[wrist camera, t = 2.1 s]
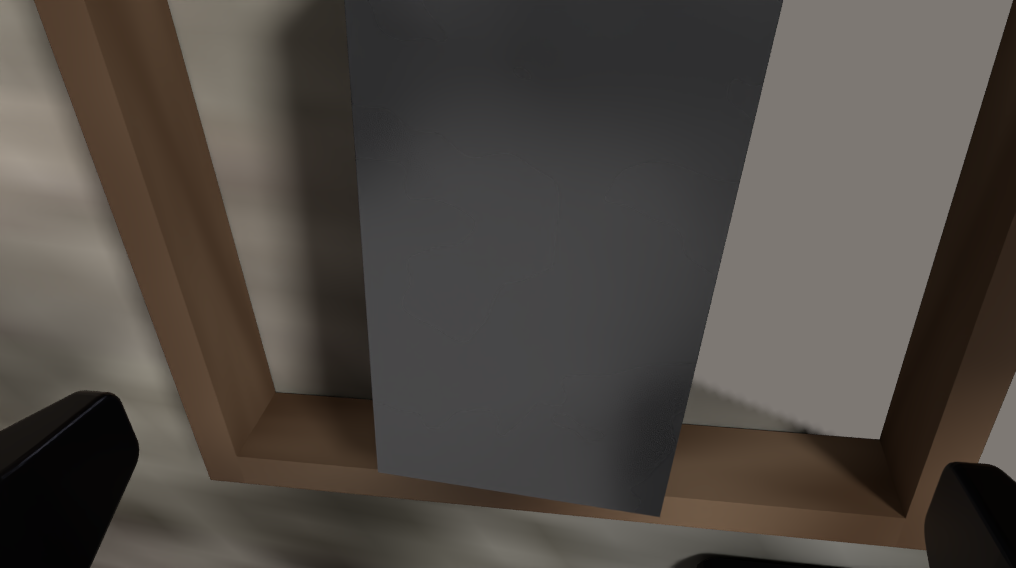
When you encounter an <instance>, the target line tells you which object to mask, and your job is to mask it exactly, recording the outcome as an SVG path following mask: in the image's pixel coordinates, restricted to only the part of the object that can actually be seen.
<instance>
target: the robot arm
mask: <svg viewBox="0 0 1016 568" xmlns="http://www.w3.org/2000/svg"><path fill="white" fill-rule="evenodd" d="M138 457H139V443H138V440H137V438H136V435H135V433H134V431H133V428H132V426H131V423H130V421H129V419H128V416H127V414H126V412H125V409H124V407H123V405H122V402H121V401H120V399H119V398H118V397H117V396H116V395H115V394H112V393H110V392H99V391H87V390H85V391H78V392H75V393H73V394H71V395H69V396H67V397H65V398H63V399H61V400H59V401H57V402H55V403H53V404H52V405H50V406H48V407H46V408H44V409H42V410H40V411H38V412H36V413H34V414H32V415H30V416H28V417H27V418H25V419H23V420H21V421H19V422H17V423H15V424H13V425H11V426H9V427H7V428H5V429H3V430H2V431H0V568H90V566H91V564H92V562H93V560H94V558H95V556H96V553H97V551H98V549H99V547H100V544H101V542H102V540H103V538H104V536H105V533H106V531H107V529H108V527H109V524H110V522H111V520H112V518H113V516H114V513H115V511H116V509H117V507H118V504H119V502H120V500H121V498H122V496H123V493H124V491H125V489H126V487H127V484H128V482H129V480H130V478H131V476H132V473H133V471H134V469H135V467H136V464H137V461H138ZM924 538H925V545H926V550H927V556H928V561H929V567H930V568H1016V482H1015V481H1014V480H1013V479H1012V478H1011V477H1009V476H1008V475H1007V474H1006V473H1005V472H1003V471H1002V470H1001V469H999V468H998V467H996V466H993V465H990V464H981V463H969V462H951V463H949V464H947V465H946V466H945V468H944V469H943V471H942V473H941V476H940V479H939V481H938V484H937V487H936V489H935V492H934V495H933V498H932V500H931V503H930V506H929V508H928V511H927V514H926V517H925V523H924ZM696 568H808V567H798V566H789V565H779V564H770V563H760V562H750V561H741V560H731V559H722V558H711V559H707V560H704V561H702V562H701V563H699V564H698V565H697V567H696Z"/></svg>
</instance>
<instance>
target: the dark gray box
mask: <svg viewBox="0 0 1016 568" xmlns="http://www.w3.org/2000/svg"><path fill="white" fill-rule="evenodd" d="M344 1H345V15H346V29H347V43H348V57H349V72H350V86H351V100H352V114H353V128H354V142H355V156H356V171H357V185H358V199H359V213H360V227H361V241H362V255H363V269H364V284H365V298H366V312H367V326H368V340H369V354H370V368H371V383H372V397H373V411H374V425H375V439H376V453H377V467H378V472H379V473H385V474H391V475H398V476H404V477H410V478H417V479H423V480H429V481H435V482H442V483H448V484H454V485H461V486H467V487H473V488H479V489H486V490H492V491H498V492H505V493H511V494H517V495H523V496H530V497H536V498H542V499H549V500H555V501H561V502H567V503H574V504H580V505H586V506H592V507H599V508H605V509H611V510H618V511H624V512H630V513H636V514H643V515H649V516H655V517H660V514H661V510H662V505H663V501H664V497H665V493H666V489H667V485H668V480H669V476H670V472H671V468H672V464H673V459H674V455H675V451H676V447H677V443H678V438H679V434H680V430H681V426H682V422H683V418H684V413H685V409H686V405H687V401H688V397H689V392H690V388H691V384H692V380H693V376H694V371H695V367H696V363H697V359H698V355H699V351H700V346H701V342H702V338H703V334H704V329H705V325H706V321H707V317H708V313H709V309H710V305H711V300H712V296H713V292H714V287H715V284H716V279H717V275H718V271H719V267H720V263H721V258H722V254H723V250H724V246H725V242H726V237H727V233H728V229H729V224H730V221H731V217H732V212H733V208H734V204H735V200H736V195H737V191H738V187H739V183H740V179H741V175H742V171H743V166H744V162H745V158H746V154H747V149H748V145H749V141H750V137H751V133H752V128H753V124H754V120H755V116H756V112H757V108H758V103H759V99H760V95H761V90H762V86H763V82H764V78H765V74H766V69H767V66H768V62H769V57H770V53H771V49H772V45H773V40H774V36H775V32H776V28H777V24H778V19H779V16H780V11H781V7H782V3H783V0H344Z"/></svg>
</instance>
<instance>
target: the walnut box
mask: <svg viewBox="0 0 1016 568" xmlns="http://www.w3.org/2000/svg"><path fill="white" fill-rule="evenodd" d="M34 2H35V4H36V7H37V10H38V12H39V15H40V18H41V21H42V23H43V26H44V29H45V31H46V34H47V37H48V40H49V42H50V45H51V48H52V50H53V53H54V56H55V59H56V61H57V64H58V67H59V69H60V72H61V75H62V78H63V80H64V83H65V86H66V88H67V91H68V94H69V97H70V99H71V102H72V105H73V107H74V110H75V113H76V116H77V118H78V121H79V124H80V126H81V129H82V132H83V135H84V137H85V140H86V143H87V145H88V148H89V151H90V154H91V156H92V159H93V162H94V164H95V167H96V170H97V173H98V175H99V178H100V181H101V183H102V186H103V189H104V192H105V194H106V197H107V200H108V202H109V205H110V208H111V211H112V213H113V216H114V219H115V221H116V224H117V227H118V230H119V232H120V235H121V238H122V240H123V243H124V246H125V249H126V251H127V254H128V257H129V259H130V262H131V265H132V268H133V270H134V273H135V276H136V278H137V281H138V284H139V287H140V289H141V292H142V295H143V297H144V300H145V303H146V306H147V308H148V311H149V314H150V316H151V319H152V322H153V325H154V327H155V330H156V333H157V335H158V338H159V341H160V344H161V346H162V349H163V352H164V354H165V357H166V360H167V363H168V365H169V368H170V371H171V374H172V376H173V379H174V382H175V384H176V387H177V390H178V393H179V395H180V398H181V401H182V403H183V406H184V409H185V412H186V414H187V417H188V420H189V422H190V425H191V428H192V431H193V433H194V436H195V439H196V441H197V444H198V447H199V450H200V452H201V455H202V458H203V460H204V463H205V466H206V469H207V471H208V474H209V477H210V479H211V480H218V481H228V482H238V483H248V484H258V485H269V486H279V487H289V488H299V489H309V490H319V491H330V492H340V493H350V494H360V495H370V496H380V497H391V498H401V499H411V500H421V501H431V502H441V503H451V504H462V505H472V506H482V507H492V508H502V509H512V510H523V511H533V512H543V513H553V514H563V515H573V516H584V517H594V518H604V519H614V520H624V521H634V522H645V523H655V524H665V525H675V526H685V527H695V528H706V529H716V530H726V531H736V532H746V533H756V534H766V535H777V536H787V537H797V538H807V539H817V540H827V541H838V542H848V543H858V544H868V545H878V546H888V547H899V548H909V549H919V550H926V545H925V538H924V523H925V517H926V514H927V511H928V508H929V506H930V503H931V500H932V498H933V495H934V492H935V489H936V487H937V484H938V481H939V479H940V476H941V473H942V471H943V469H944V468H945V466H946V465H947V464H949V463H951V462H969V463H978V462H979V459H980V457H981V454H982V452H983V449H984V447H985V445H986V442H987V440H988V437H989V435H990V432H991V430H992V428H993V425H994V423H995V420H996V418H997V415H998V413H999V411H1000V408H1001V406H1002V403H1003V401H1004V398H1005V396H1006V394H1007V391H1008V389H1009V386H1010V384H1011V381H1012V379H1013V376H1014V374H1015V372H1016V0H1013V3H1012V6H1011V9H1010V13H1009V16H1008V19H1007V22H1006V26H1005V29H1004V32H1003V36H1002V39H1001V42H1000V46H999V49H998V52H997V55H996V59H995V62H994V65H993V68H992V72H991V75H990V78H989V82H988V86H987V88H986V91H985V95H984V98H983V101H982V105H981V108H980V111H979V114H978V118H977V121H976V125H975V128H974V131H973V134H972V137H971V141H970V144H969V148H968V151H967V154H966V157H965V160H964V164H963V167H962V170H961V174H960V177H959V180H958V184H957V187H956V190H955V193H954V197H953V200H952V203H951V206H950V210H949V213H948V217H947V220H946V223H945V226H944V229H943V233H942V236H941V239H940V243H939V246H938V249H937V252H936V256H935V259H934V262H933V266H932V269H931V272H930V276H929V279H928V282H927V285H926V289H925V292H924V295H923V298H922V302H921V305H920V308H919V312H918V315H917V318H916V321H915V325H914V328H913V332H912V335H911V338H910V341H909V344H908V348H907V351H906V354H905V358H904V361H903V364H902V368H901V371H900V374H899V378H898V381H897V384H896V387H895V391H894V394H893V397H892V400H891V404H890V407H889V410H888V413H887V417H886V420H885V423H884V427H883V430H882V433H881V436H880V440H879V439H865V438H852V437H840V436H827V435H814V434H802V433H789V432H776V431H763V430H750V429H738V428H725V427H712V426H699V425H686V424H682V426H681V430H680V434H679V438H678V443H677V447H676V451H675V455H674V459H673V464H672V468H671V472H670V476H669V480H668V485H667V489H666V493H665V497H664V501H663V505H662V510H661V514H660V517H655V516H649V515H643V514H636V513H630V512H624V511H618V510H611V509H605V508H599V507H592V506H586V505H580V504H574V503H567V502H561V501H555V500H549V499H542V498H536V497H530V496H523V495H517V494H511V493H505V492H498V491H492V490H486V489H479V488H473V487H467V486H461V485H454V484H448V483H442V482H435V481H429V480H423V479H417V478H410V477H404V476H398V475H391V474H385V473H379V472H378V467H377V453H376V439H375V425H374V411H373V400H366V399H353V398H340V397H327V396H315V395H302V394H289V393H276V392H275V388H274V384H273V381H272V377H271V374H270V370H269V366H268V363H267V359H266V356H265V352H264V348H263V345H262V341H261V338H260V334H259V330H258V327H257V323H256V319H255V316H254V312H253V309H252V305H251V301H250V298H249V294H248V291H247V287H246V283H245V280H244V276H243V272H242V269H241V265H240V262H239V258H238V254H237V251H236V247H235V244H234V240H233V236H232V233H231V229H230V226H229V222H228V218H227V215H226V211H225V207H224V204H223V200H222V197H221V193H220V189H219V186H218V182H217V179H216V175H215V171H214V168H213V164H212V161H211V157H210V153H209V150H208V146H207V142H206V139H205V135H204V132H203V128H202V124H201V121H200V117H199V114H198V110H197V106H196V103H195V99H194V96H193V92H192V88H191V85H190V81H189V77H188V74H187V70H186V67H185V63H184V59H183V56H182V52H181V49H180V45H179V41H178V38H177V34H176V31H175V27H174V23H173V20H172V16H171V12H170V9H169V5H168V2H167V0H34Z"/></svg>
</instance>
